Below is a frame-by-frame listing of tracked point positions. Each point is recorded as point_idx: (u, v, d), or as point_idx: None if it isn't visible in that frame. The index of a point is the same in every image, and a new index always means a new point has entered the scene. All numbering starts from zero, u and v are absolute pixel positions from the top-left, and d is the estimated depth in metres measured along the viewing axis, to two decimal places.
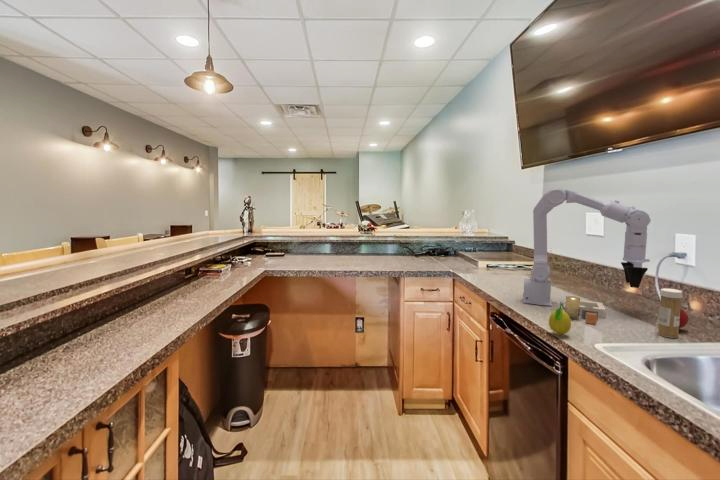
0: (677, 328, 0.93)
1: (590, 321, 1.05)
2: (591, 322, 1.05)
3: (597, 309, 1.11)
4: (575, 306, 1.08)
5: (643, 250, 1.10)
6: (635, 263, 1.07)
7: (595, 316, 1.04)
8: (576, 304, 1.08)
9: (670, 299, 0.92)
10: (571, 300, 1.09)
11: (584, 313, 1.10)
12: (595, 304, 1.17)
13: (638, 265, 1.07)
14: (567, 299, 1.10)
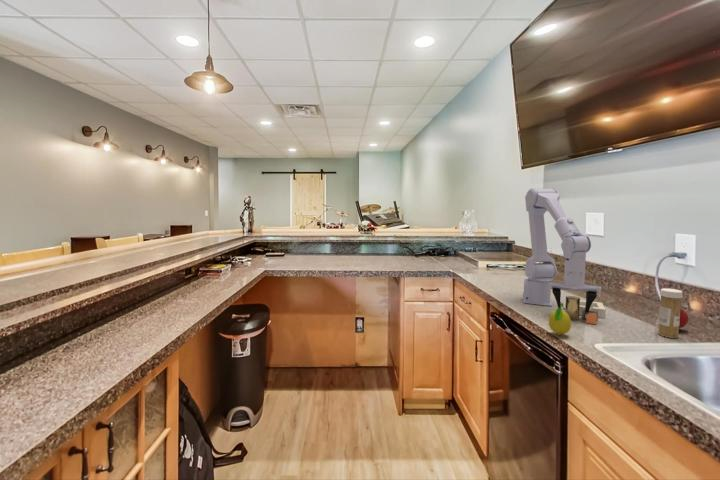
0: (677, 328, 0.93)
1: (590, 321, 1.05)
2: (591, 322, 1.05)
3: (597, 309, 1.11)
4: (575, 306, 1.08)
5: (567, 276, 1.09)
6: None
7: (595, 316, 1.04)
8: (576, 304, 1.08)
9: (670, 299, 0.92)
10: (571, 300, 1.09)
11: (584, 313, 1.10)
12: (595, 304, 1.17)
13: (548, 286, 1.13)
14: (567, 299, 1.10)
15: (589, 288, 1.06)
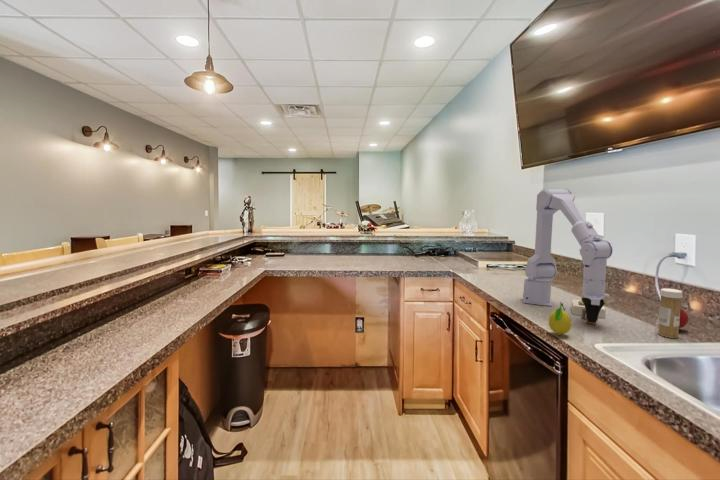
0: (677, 328, 0.93)
1: None
2: None
3: None
4: None
5: (602, 285, 1.00)
6: (592, 300, 0.97)
7: None
8: None
9: (670, 299, 0.92)
10: None
11: (584, 313, 1.10)
12: None
13: (595, 302, 0.97)
14: None
15: None
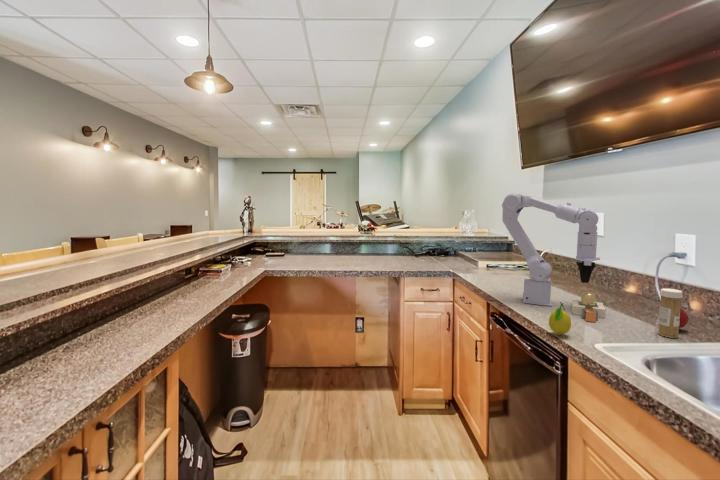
0: (677, 328, 0.93)
1: (589, 319, 1.07)
2: (590, 320, 1.07)
3: (597, 309, 1.11)
4: (590, 301, 1.14)
5: (593, 249, 1.15)
6: (585, 261, 1.12)
7: (594, 314, 1.06)
8: (591, 299, 1.13)
9: (670, 299, 0.92)
10: (586, 295, 1.14)
11: (584, 313, 1.10)
12: (595, 304, 1.17)
13: (588, 263, 1.12)
14: (583, 294, 1.15)
15: None
